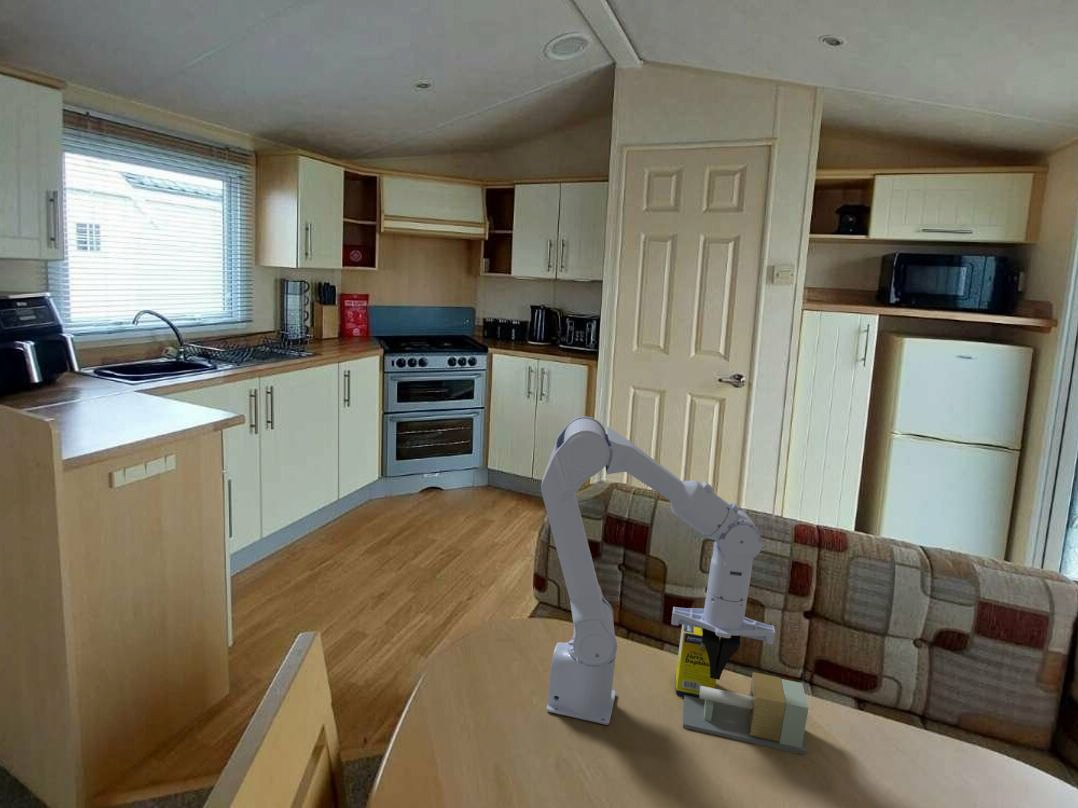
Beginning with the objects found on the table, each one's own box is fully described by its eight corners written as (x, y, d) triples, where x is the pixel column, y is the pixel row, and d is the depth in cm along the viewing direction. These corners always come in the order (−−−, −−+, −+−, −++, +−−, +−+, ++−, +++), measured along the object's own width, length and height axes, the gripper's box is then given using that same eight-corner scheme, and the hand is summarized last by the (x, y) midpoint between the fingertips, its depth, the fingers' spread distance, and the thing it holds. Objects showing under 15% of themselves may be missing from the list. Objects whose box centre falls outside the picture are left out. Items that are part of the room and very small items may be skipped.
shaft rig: (682, 727, 95) (688, 685, 94) (684, 698, 102) (689, 658, 101) (805, 754, 92) (812, 711, 90) (798, 722, 98) (805, 681, 97)
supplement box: (713, 702, 102) (723, 639, 99) (675, 695, 103) (683, 632, 101) (711, 680, 107) (720, 620, 105) (675, 673, 108) (682, 613, 106)
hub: (750, 735, 93) (756, 697, 92) (747, 708, 99) (752, 672, 98) (779, 741, 93) (785, 703, 91) (774, 714, 99) (780, 677, 97)
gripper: (675, 594, 92) (664, 680, 95) (782, 615, 89) (767, 702, 92) (677, 573, 99) (666, 653, 102) (777, 591, 96) (763, 673, 98)
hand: (714, 675), depth 97 cm, fingers closed
